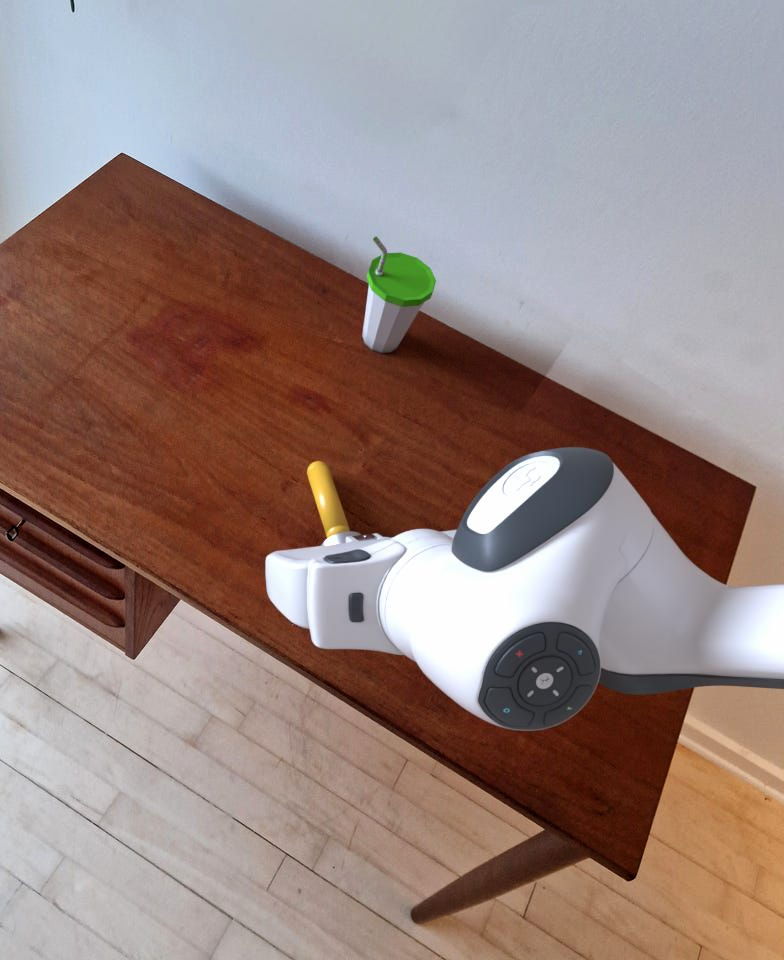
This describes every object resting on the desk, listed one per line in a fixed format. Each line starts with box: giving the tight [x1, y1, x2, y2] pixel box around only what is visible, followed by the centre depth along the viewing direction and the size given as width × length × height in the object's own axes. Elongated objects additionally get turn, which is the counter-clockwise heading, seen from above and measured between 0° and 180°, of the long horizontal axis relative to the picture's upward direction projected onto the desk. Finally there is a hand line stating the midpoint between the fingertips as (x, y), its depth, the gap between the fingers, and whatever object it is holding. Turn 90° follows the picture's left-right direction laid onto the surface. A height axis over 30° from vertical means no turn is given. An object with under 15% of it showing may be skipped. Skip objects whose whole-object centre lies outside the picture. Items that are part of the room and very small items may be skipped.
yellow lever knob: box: [306, 460, 362, 546], centre depth 85 cm, size 5×5×14 cm
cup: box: [361, 236, 437, 354], centre depth 97 cm, size 8×8×15 cm
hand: (360, 543), depth 75 cm, fingers closed
